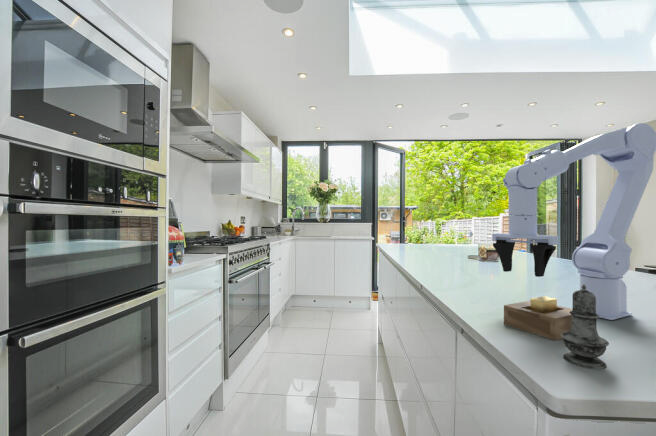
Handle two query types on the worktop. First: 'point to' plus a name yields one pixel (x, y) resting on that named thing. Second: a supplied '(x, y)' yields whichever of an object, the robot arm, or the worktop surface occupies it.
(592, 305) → the salt shaker
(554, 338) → the walnut box
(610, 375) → the worktop surface
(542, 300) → the block
